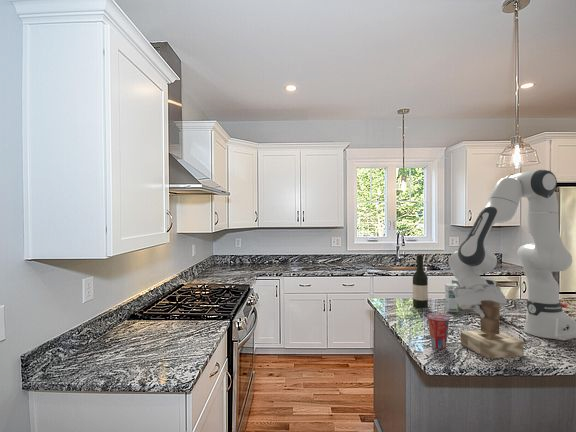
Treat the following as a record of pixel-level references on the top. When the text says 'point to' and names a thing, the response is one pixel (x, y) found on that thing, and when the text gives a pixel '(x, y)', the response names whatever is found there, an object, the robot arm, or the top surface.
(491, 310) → the walnut peg
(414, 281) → the wine bottle
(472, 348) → the socket block
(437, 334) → the cup
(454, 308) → the syrup box
